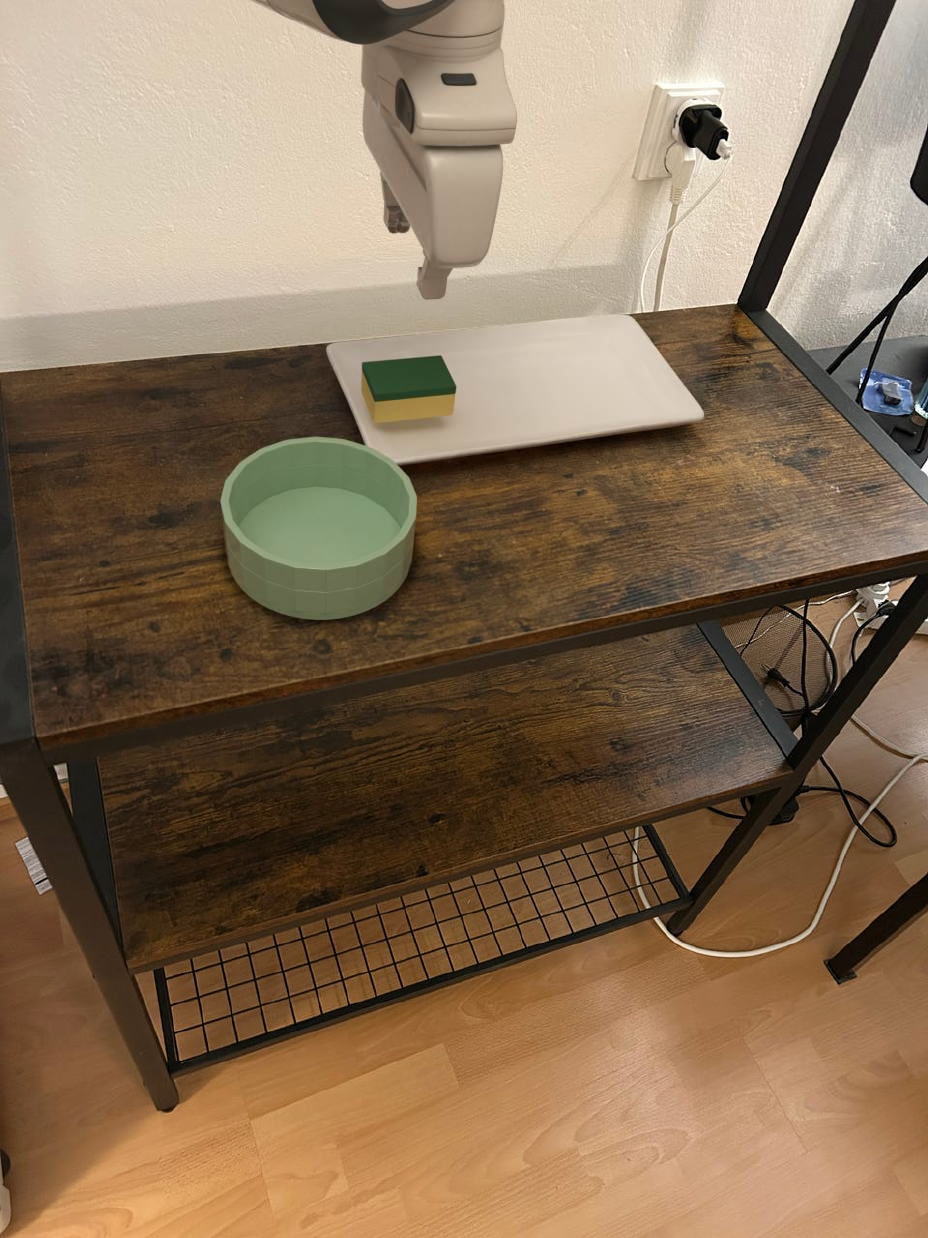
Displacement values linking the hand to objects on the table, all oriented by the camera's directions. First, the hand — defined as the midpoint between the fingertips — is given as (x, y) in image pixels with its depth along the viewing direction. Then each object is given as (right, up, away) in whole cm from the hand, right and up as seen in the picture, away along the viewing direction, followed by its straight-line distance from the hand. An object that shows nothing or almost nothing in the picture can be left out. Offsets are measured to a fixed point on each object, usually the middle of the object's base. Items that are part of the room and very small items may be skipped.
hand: (412, 260), depth 73 cm
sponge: (-1, -9, +10) cm, 13 cm away
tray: (+8, -8, +17) cm, 20 cm away
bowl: (-7, -22, +2) cm, 23 cm away
